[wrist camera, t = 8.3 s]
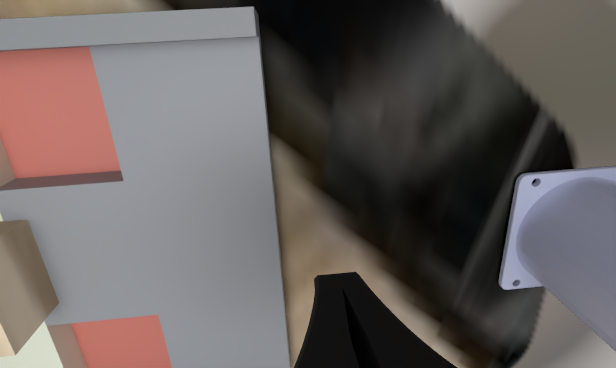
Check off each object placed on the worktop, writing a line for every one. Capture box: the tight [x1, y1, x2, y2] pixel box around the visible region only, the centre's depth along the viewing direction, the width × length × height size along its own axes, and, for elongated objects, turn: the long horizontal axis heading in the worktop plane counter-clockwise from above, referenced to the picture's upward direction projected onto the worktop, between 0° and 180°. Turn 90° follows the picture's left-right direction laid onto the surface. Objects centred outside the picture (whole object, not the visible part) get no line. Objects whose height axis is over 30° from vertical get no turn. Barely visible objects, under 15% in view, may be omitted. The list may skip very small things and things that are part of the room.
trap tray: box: [0, 7, 291, 368], centre depth 18 cm, size 18×22×5 cm
